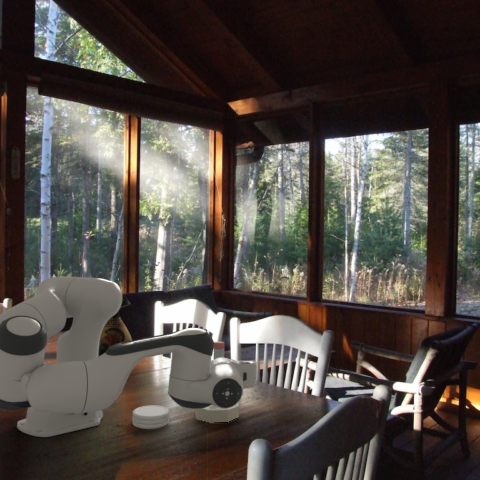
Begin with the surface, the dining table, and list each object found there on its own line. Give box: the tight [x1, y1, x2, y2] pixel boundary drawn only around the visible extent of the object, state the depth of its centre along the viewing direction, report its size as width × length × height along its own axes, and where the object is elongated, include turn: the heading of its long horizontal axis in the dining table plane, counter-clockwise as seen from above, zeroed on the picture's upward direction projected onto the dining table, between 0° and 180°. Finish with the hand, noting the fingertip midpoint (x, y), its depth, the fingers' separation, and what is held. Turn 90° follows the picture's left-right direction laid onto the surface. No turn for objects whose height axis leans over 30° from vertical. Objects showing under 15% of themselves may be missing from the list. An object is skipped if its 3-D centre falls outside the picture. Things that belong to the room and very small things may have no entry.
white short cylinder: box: [131, 404, 171, 430], centre depth 144 cm, size 10×10×4 cm
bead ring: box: [194, 402, 240, 424], centre depth 151 cm, size 12×12×4 cm
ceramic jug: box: [98, 295, 133, 357], centre depth 197 cm, size 17×15×30 cm
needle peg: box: [213, 341, 225, 360], centre depth 151 cm, size 3×3×14 cm
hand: (218, 362), depth 151 cm, fingers closed on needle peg, 3 cm apart
